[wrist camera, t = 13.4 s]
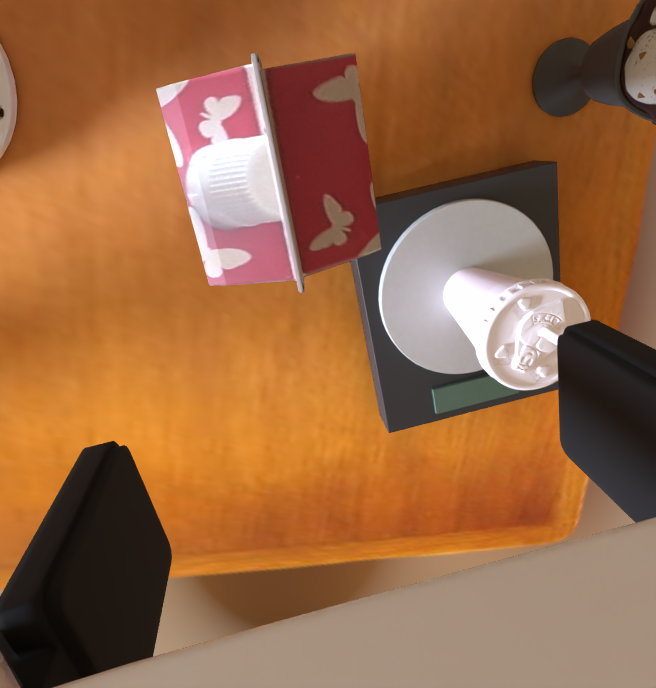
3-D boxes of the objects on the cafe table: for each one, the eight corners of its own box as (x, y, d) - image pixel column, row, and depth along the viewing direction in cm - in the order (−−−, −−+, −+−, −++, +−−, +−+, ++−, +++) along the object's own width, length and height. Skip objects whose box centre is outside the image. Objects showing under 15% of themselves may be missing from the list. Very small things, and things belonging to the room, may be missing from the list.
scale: (339, 205, 37) (349, 212, 33) (534, 160, 37) (564, 161, 34) (380, 415, 44) (391, 438, 40) (544, 373, 44) (569, 392, 41)
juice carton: (230, 220, 36) (200, 313, 16) (205, 119, 33) (132, 75, 13) (320, 202, 36) (406, 270, 16) (303, 101, 34) (379, 31, 14)
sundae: (509, 122, 36) (668, 106, 22) (536, 15, 34) (731, -77, 20) (590, 137, 37) (789, 130, 24) (622, 34, 35) (862, -40, 21)
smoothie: (526, 269, 36) (677, 336, 23) (482, 346, 38) (599, 447, 25) (452, 233, 35) (571, 284, 22) (409, 315, 36) (496, 407, 23)
